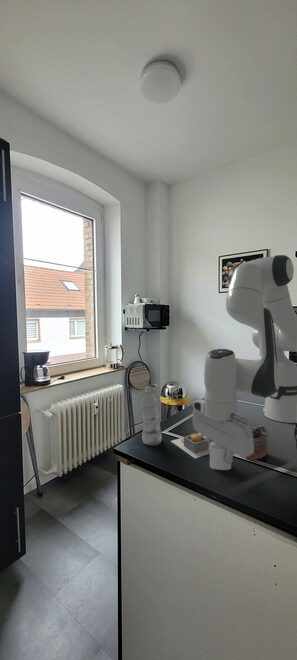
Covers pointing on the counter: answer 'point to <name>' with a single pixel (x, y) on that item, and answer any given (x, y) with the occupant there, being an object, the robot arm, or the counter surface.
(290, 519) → the counter surface
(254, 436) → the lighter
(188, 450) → the white rectangular tray
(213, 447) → the eye dropper bottle
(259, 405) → the counter surface
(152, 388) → the plastic bottle
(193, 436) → the button
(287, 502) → the counter surface
